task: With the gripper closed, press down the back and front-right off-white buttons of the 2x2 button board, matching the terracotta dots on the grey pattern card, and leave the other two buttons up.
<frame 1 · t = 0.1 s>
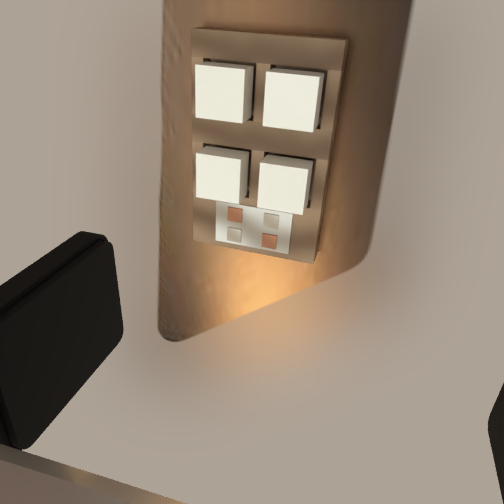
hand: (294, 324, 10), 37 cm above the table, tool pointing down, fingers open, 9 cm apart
button c: (222, 174, 45), point 4 cm above the table, slide at 0.0 cm
button b: (293, 99, 39), point 4 cm above the table, slide at 0.0 cm
button a: (224, 92, 41), point 4 cm above the table, slide at 0.0 cm
button d: (284, 184, 43), point 4 cm above the table, slide at 0.0 cm
button board: (265, 148, 47), on the table
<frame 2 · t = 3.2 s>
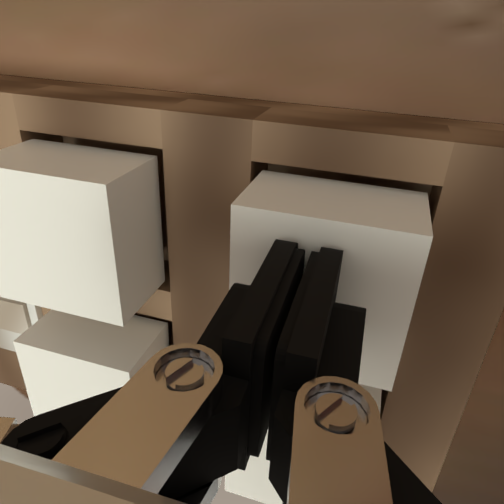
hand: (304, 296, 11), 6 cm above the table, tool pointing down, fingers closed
button c: (76, 228, 14), point 4 cm above the table, slide at 0.0 cm
button b: (301, 433, 15), point 4 cm above the table, slide at 0.0 cm
button a: (323, 275, 12), point 4 cm above the table, slide at 0.0 cm, touching gripper
button d: (101, 377, 17), point 4 cm above the table, slide at 0.0 cm
button board: (189, 265, 19), on the table
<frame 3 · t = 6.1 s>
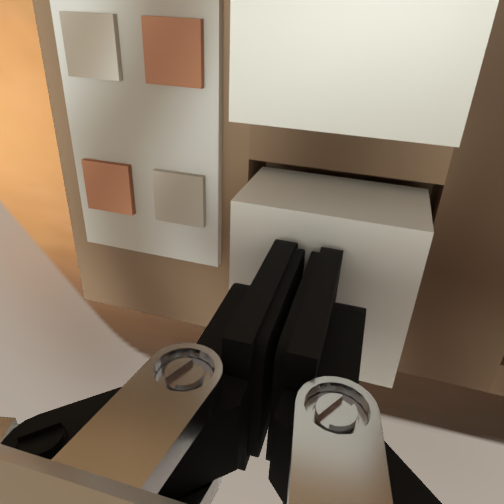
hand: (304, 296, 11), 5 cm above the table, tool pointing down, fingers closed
button c: (361, 3, 9), point 4 cm above the table, slide at 0.0 cm
button d: (324, 271, 12), point 4 cm above the table, slide at 0.2 cm, touching gripper
button board: (421, 130, 14), on the table
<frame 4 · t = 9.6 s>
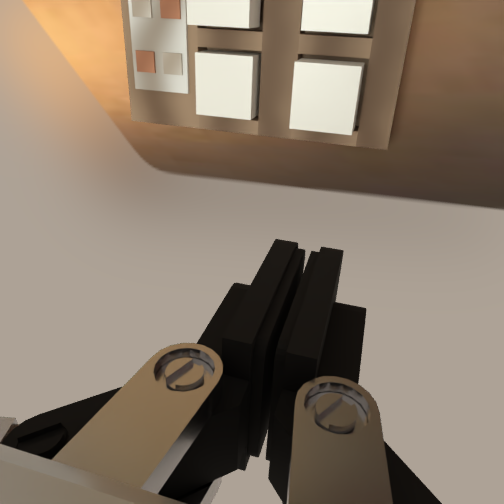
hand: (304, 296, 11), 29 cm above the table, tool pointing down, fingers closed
button b: (326, 96, 32), point 4 cm above the table, slide at 0.0 cm
button d: (229, 84, 35), point 3 cm above the table, slide at 1.3 cm
button board: (264, 39, 36), on the table
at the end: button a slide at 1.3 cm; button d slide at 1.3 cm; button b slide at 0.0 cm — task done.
